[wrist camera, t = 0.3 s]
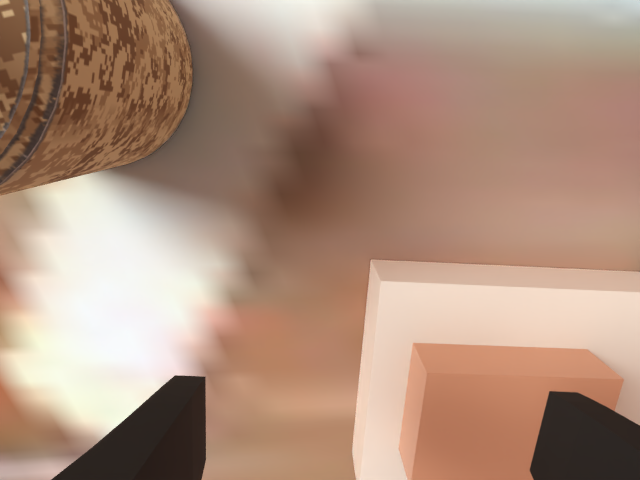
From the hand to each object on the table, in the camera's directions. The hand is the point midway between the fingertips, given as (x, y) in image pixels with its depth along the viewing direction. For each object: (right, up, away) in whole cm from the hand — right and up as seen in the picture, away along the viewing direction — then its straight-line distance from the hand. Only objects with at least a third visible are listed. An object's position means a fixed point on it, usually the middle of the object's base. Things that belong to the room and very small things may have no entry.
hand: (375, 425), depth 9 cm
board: (+7, -2, +11) cm, 13 cm away
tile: (+6, -3, +8) cm, 10 cm away
